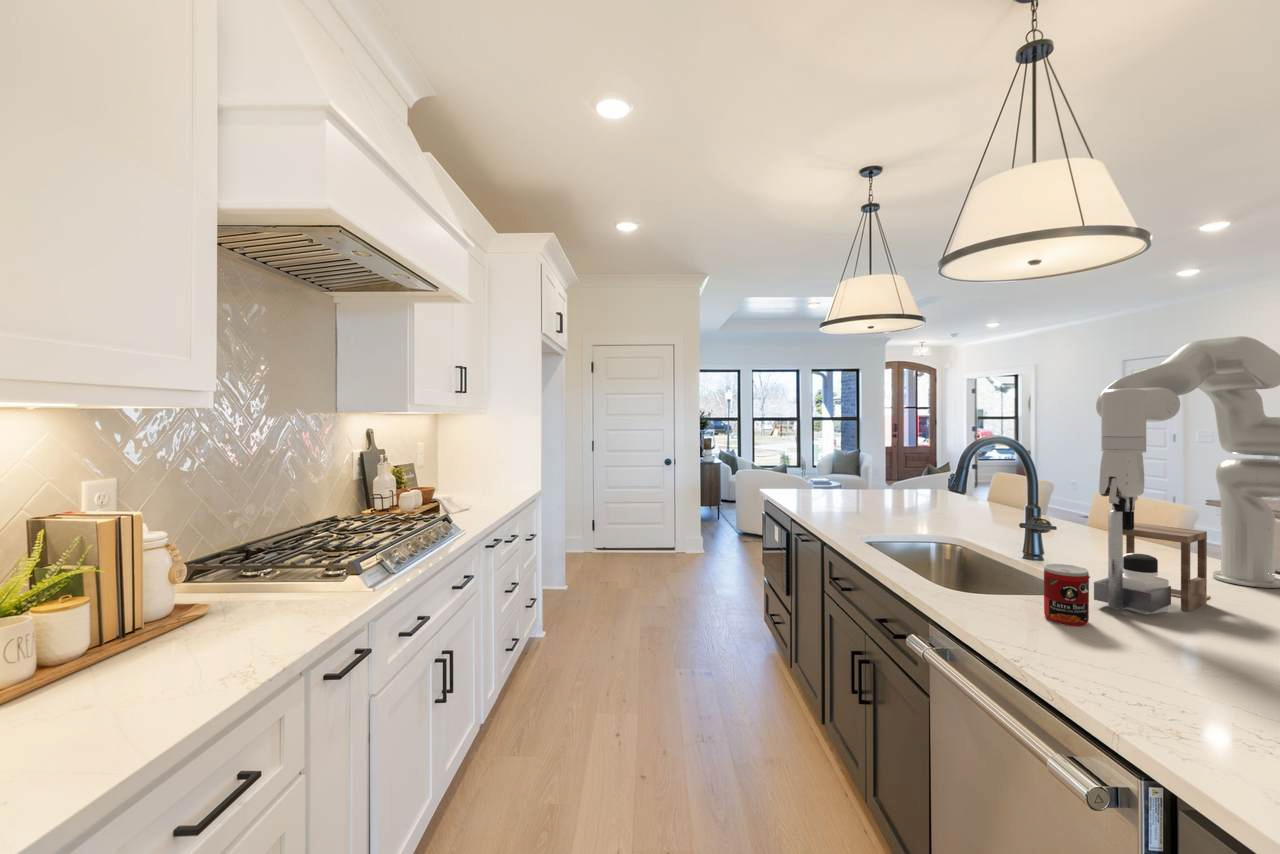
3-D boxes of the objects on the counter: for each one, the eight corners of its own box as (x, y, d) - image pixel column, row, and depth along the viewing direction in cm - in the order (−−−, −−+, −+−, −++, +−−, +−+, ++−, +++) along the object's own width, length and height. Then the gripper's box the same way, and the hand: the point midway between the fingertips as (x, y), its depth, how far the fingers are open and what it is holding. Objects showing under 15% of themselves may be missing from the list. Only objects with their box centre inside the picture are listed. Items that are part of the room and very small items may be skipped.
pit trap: (1146, 585, 146) (1146, 583, 146) (1210, 597, 135) (1210, 595, 135) (1135, 588, 143) (1135, 586, 143) (1200, 601, 132) (1200, 599, 132)
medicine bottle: (1169, 612, 126) (1169, 557, 126) (1145, 615, 124) (1145, 559, 124) (1133, 602, 133) (1133, 550, 132) (1110, 605, 131) (1110, 552, 131)
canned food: (1047, 623, 120) (1046, 570, 120) (1041, 611, 127) (1041, 562, 127) (1093, 629, 116) (1093, 575, 116) (1084, 617, 123) (1084, 565, 123)
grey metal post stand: (1114, 592, 135) (1114, 503, 135) (1171, 604, 126) (1171, 508, 126) (1085, 602, 128) (1085, 508, 128) (1142, 616, 119) (1142, 515, 119)
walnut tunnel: (1128, 588, 143) (1128, 522, 143) (1206, 603, 131) (1206, 531, 131) (1108, 594, 138) (1108, 526, 138) (1188, 612, 126) (1188, 536, 125)
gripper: (1118, 443, 133) (1118, 523, 133) (1086, 445, 125) (1086, 529, 125) (1159, 444, 126) (1159, 528, 126) (1129, 446, 119) (1129, 535, 119)
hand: (1123, 528), depth 126 cm, fingers closed
